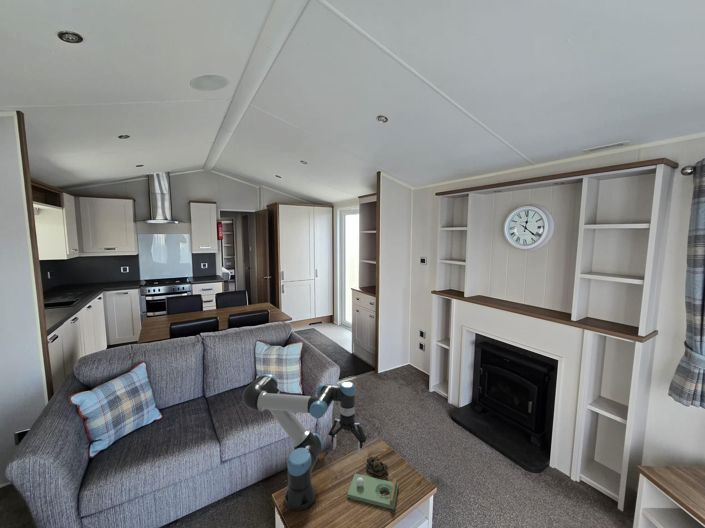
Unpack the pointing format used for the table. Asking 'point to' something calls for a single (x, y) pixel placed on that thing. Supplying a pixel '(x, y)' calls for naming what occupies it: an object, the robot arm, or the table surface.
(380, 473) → the rock
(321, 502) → the table surface
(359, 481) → the ball
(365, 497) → the green
